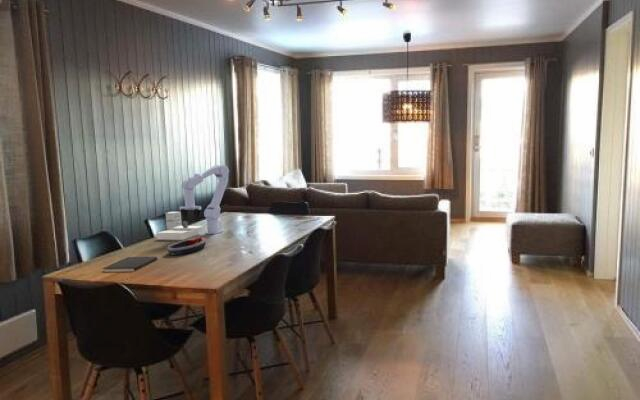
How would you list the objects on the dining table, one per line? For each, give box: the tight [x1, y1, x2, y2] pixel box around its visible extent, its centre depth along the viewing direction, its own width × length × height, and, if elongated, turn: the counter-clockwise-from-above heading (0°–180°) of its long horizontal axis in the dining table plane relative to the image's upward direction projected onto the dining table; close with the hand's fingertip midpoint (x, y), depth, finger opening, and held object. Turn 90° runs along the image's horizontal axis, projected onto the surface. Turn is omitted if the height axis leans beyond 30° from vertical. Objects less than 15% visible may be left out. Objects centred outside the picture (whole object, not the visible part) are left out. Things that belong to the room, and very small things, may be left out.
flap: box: [173, 220, 204, 229], centre depth 343 cm, size 8×18×4 cm, turn 69°
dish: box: [166, 236, 207, 256], centre depth 292 cm, size 16×31×5 cm, turn 159°
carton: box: [156, 229, 198, 242], centre depth 332 cm, size 16×18×4 cm
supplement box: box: [165, 211, 183, 231], centre depth 360 cm, size 7×7×13 cm
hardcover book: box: [102, 256, 158, 273], centre depth 262 cm, size 16×23×2 cm
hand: (191, 221), depth 331 cm, fingers open, 7 cm apart
